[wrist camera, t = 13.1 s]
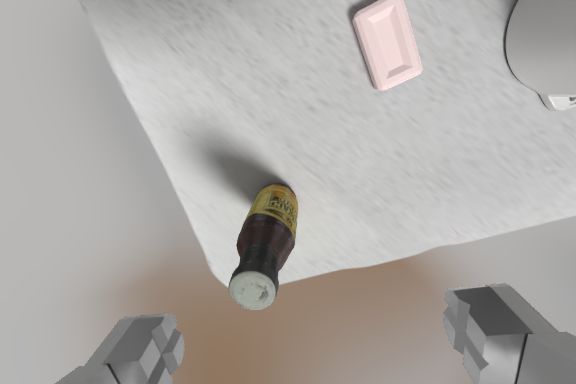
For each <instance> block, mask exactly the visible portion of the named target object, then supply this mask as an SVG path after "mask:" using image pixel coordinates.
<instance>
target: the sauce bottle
mask: <svg viewBox="0 0 576 384" xmlns="http://www.w3.org/2000/svg"><path fill="white" fill-rule="evenodd" d="M297 214H298V202H297V199H296V195H295V194H294V192H293V191H292V190H291V189H290V188H288V187H287V186H285V185H282V184H272V185H268V186H266V187H264V188H263V189H262V190H261V191H260V192H259V193H258V195H257V197H256V199H255V201H254V203H253V205H252V207H251V209H250V211H249V213H248V215H247V218H246V220H245V222H244V224H243V226H242V229H241V232H240V234H239V237H238V240H237V250H238V254H239V256H240V263H239V266H238V267H237V268H236V270H235V271H234V273H233V274H232V277H231V280H230V283H229V293H230V295H231V298H232V299H233V300H234V301H235V302H236V303H237V304H238V305H239V306H241V307H243V308H246V309H252V310H260V309H263V308H266V307H268V306H269V305H270V304H272V303H273V301H274V300H275V297H276V294H277V290H278V285H279V282H278V271H279V270H280V269H281V268H282V267H283V265H284V263H285V262H286V260H287V258H288V256H289V255H290V253H291V251H292V249H293V248H294V245H295V236H296V226H297Z"/></svg>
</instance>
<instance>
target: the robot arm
mask: <svg viewBox="0 0 576 384" xmlns="http://www.w3.org/2000/svg"><path fill="white" fill-rule="evenodd" d="M506 54H507V59H508V63H509V65H510V68H511V70H512V72H513V73H514V75H515V76H516V77H517V79H518V80H519V81H520V82H522V83H523V84H524V85H526V86H527V87H529V88H531V89H533V90H534V91H536V92H537V93H538V94H539V95H540V97H541V98H542V100H543V102H544V104H545V105H546V107H547V108H548V109H550V110H552V111H560V110H566V109H569V108H572V107H575V106H576V0H518V2H517V4H516V6H515V8H514V10H513V13H512V15H511V18H510V21H509V25H508V29H507V35H506ZM570 97H571V99H569V98H570ZM445 301H446V303H447V304H448V306H449V307H448V308H447V309H446V310H445V311H444V319H443V320H444V321H443V322H444V326H445V330H446V334H447V336H448V338H449V341H450V342H451V344H452V346H453V348H454V349H456V350H457V351H459V352H460V353H461V354H463V355H464V358H463V365H464V367H465V368H466V370H467V371H468V373H469V375H470V377H471V378H472V380H473V382H474V383H475V384H576V336H574V335H572V334H570V333H568V332H558V331H557V330H556V329H555V328H554V327H553V326H552V325H551V324H550V323H549V322H548V321H547V320H546V319H545V318H544V317H543V316H542V315H541V314H540V313H539V312H537V311H536V310H535V309H534V308H533V307H532V306H531V305H530V304H529V303H528V302H527V301H526V300H525V299H524V298H523V297H522V296H521V295H520V294H519V293H517V292H516V291H515V290H514V289H513V288H512V287H511V286H510V285H508V284H506V283H502V284H491V285H485V286H473V287H462V288H452V289H447V290H446V292H445ZM176 324H177V321H176V319H175V317H174V315H173V314H155V315H140V316H128V317H124V318H122V319H120V320H119V321H118V323H117V324H116V325H115V327H114V328H113V329H112V331H111V332H110V333H109V334H108V336H107V337H106V338H105V340H104V341H103V342H102V343H101V345H100V346H99V347H98V349H97V350H96V351H95V352H94V354H93V355H92V356H91V358H90V359H89V360H88V362H87V363H86V364H85V365H84V366H79V367H78V368H76V369H75V370H74V371H72V372H71V373H69V374H68V375H66V376H65V377H64V378H62V379H61V380H59V381H58V382H56V383H55V384H172V377H171V374H172V373H173V372H174V371H176V369H178V368H179V366H180V363H181V361H182V358H183V354H184V348H185V346H184V339H183V336H182V333H180V332H179V331H178V330H176V329H175V326H176Z"/></svg>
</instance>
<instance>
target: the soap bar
mask: <svg viewBox="0 0 576 384" xmlns="http://www.w3.org/2000/svg"><path fill="white" fill-rule="evenodd" d="M352 23H353V26H354V29H355V32H356V35H357V38H358V41H359V44H360V47H361V50H362V53H363V56H364V59H365V62H366V65H367V68H368V71H369V74H370V77H371V80H372V83H373V86H374V89H376V90H378V91H384V90H387V89H389V88H391V87H393V86H395V85H397V84H399V83H402V82H404V81H406V80H408V79H410V78H412V77H415V76H417V75H419V74H420V73H421V71H422V69H423V68H422V64H421V60H420V57H419V53H418V49H417V46H416V42H415V38H414V35H413V31H412V27H411V24H410V20H409V16H408V13H407V9H406V5H405V2H404V0H378V1H376V2H375V3H373V4H371V5H369V6H367V7H365V8H363V9H361V10H360V11H358V12H357V13H356V14H355V15H354V18H353V20H352Z"/></svg>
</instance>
